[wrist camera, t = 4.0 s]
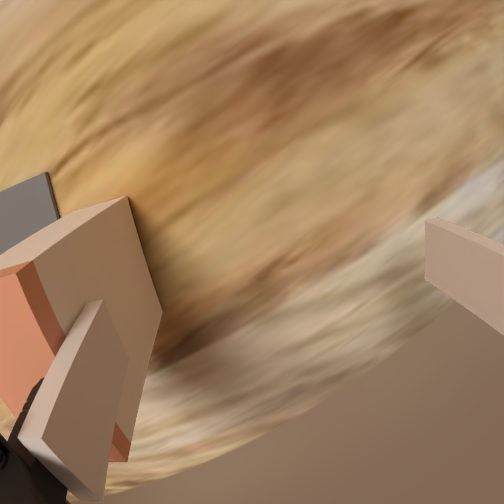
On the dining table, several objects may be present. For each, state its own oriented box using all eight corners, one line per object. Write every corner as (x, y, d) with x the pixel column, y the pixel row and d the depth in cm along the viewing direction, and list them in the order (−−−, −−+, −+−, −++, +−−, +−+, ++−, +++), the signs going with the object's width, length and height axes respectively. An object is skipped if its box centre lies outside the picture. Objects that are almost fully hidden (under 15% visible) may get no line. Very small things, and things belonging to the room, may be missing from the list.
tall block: (127, 195, 18) (15, 273, 7) (162, 311, 21) (127, 461, 9) (71, 212, 18) (-56, 294, 7) (110, 321, 21) (50, 457, 9)
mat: (47, 172, 17) (44, 172, 16) (114, 357, 21) (113, 360, 21) (-65, 226, 16) (-67, 228, 15) (-1, 371, 20) (-3, 374, 20)
